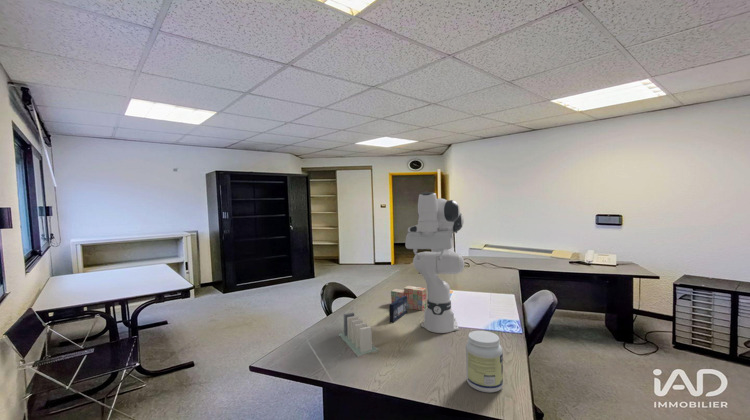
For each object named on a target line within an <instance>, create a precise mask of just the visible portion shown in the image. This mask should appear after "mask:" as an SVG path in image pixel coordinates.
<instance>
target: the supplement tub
mask: <svg viewBox="0 0 750 420" xmlns="http://www.w3.org/2000/svg"><path fill="white" fill-rule="evenodd" d="M467 336H468V338H467V341H466V344H465V358H466V359H465V361H466V362H465V365H466V366H465V367H466V369H465V370H466V381H467V383H468V385H469V386H470V387H471V388H473V389H474V390H476V391H479V392H483V393H495V392H499V391H500V390H502V389H503V386H504V370H503V369H504V366H503V364H504V363H503V360H504V358H503V357H504V355H503V348H502V347H503V346H502V345H501V341H500V337H499V335H498V334H497V333H494V332H491V331H486V330H473V331H470V332H469V333H468V335H467Z"/></svg>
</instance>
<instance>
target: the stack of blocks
mask: <svg viewBox="0 0 750 420" xmlns="http://www.w3.org/2000/svg"><path fill="white" fill-rule="evenodd" d="M402 296H407V309H410V310H417V311H425V310H426V309H427V288H426V287H420V286H412V285H407V286H405V287H404V288H403V289H398V288H394V289H393V290H391V291H390V298H391V300H390V301H391V303H393V302H394V301H396V300H397V299H399V298H401V297H402ZM391 303H390V304H391Z"/></svg>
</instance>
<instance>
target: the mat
mask: <svg viewBox="0 0 750 420" xmlns="http://www.w3.org/2000/svg"><path fill="white" fill-rule="evenodd" d="M338 336H339V338H341V339H342V340H343V342H344V343H345V344H346V345H347V346H348V347H349V348H350V349H351V351H353V352H354V354H356V357H358V356H362V355H365V354H370V353H374V352H378V351H379V349H378V348H377V347H375V345H373V344H372V350H370V351H366V352H362V353H361V352H360V347H359V348H356V343H354V344H353V343H352V339H348V335H346V336H345V335H344V332H343V333H338Z"/></svg>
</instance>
